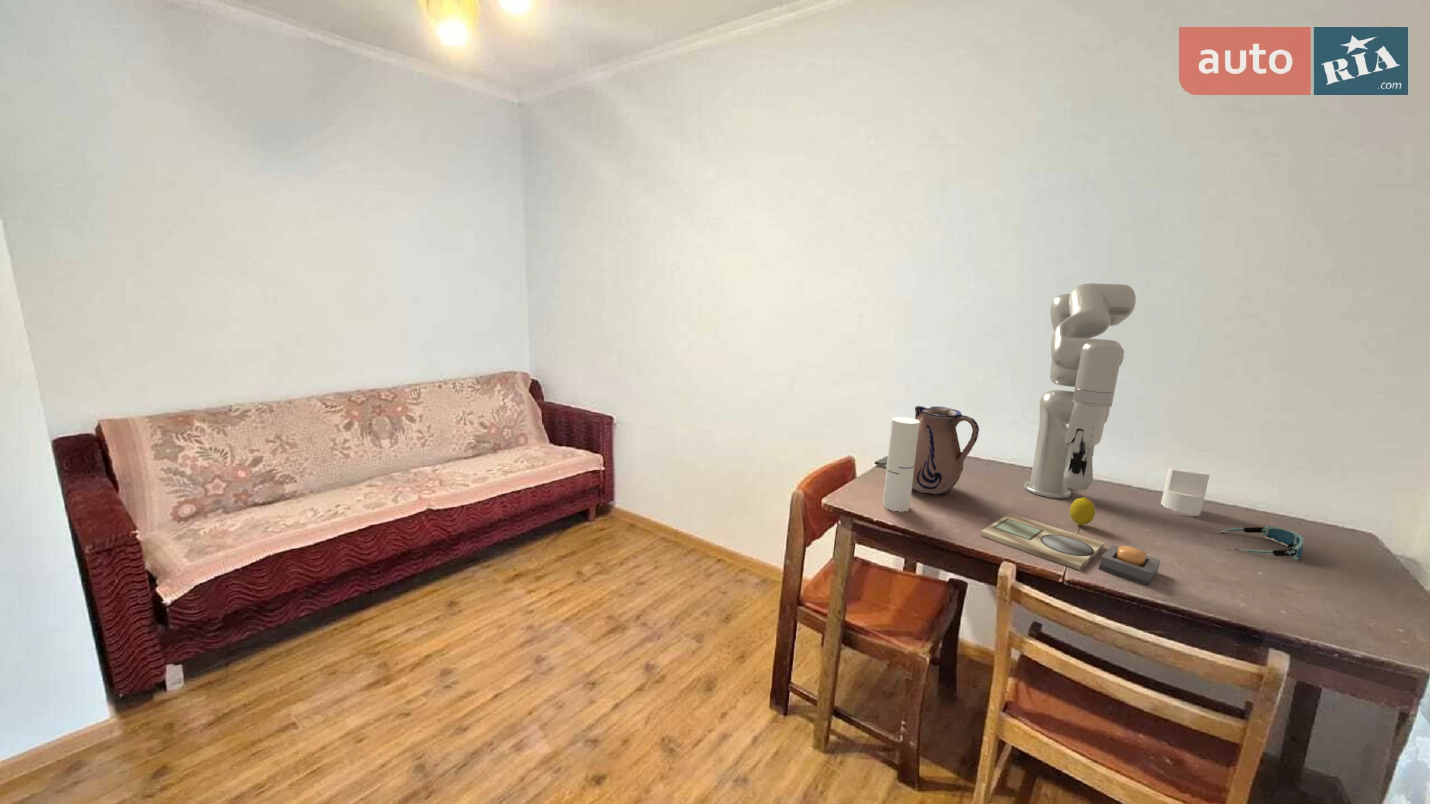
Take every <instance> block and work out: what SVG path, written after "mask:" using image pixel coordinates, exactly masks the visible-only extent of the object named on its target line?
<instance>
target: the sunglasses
mask: <svg viewBox="0 0 1430 804" xmlns="http://www.w3.org/2000/svg"><path fill="white" fill-rule="evenodd" d="M1222 530H1223V531H1231V532H1242V531H1243V532H1245V533H1246V532H1247V533H1249V534H1251V533H1256V534H1263V537H1264V536H1266V537H1269V538H1274V539H1275V540H1277V541H1279V542H1283V543H1285V544H1287V545H1288V546H1287V547H1291V549H1279V550H1278V549H1276V550H1274V549H1271V550H1258V549H1257V550H1256V549H1255V550H1254V549H1245V548H1242V549H1243V550H1246V551H1248V552H1254V553H1253V554H1263V555H1265V554H1266V555H1267V554H1269V555H1270V554H1272V555H1274V556H1275V557H1292V560H1293V559H1297V558H1300V557H1302V554H1303V548H1304V541H1305V539H1304V536H1302V535H1301V534H1300V533H1298V532H1296V531H1294V530H1291V529H1286V528H1283V527H1278V526H1271V525H1269V526H1268V525H1265V526H1264V527H1261V526H1260V527H1259V526H1258V527H1257V526H1256V527H1254V526H1253V527H1250V526H1249V527H1233V528H1227V529H1226V528H1225V529H1222ZM1287 547H1286V548H1287ZM1292 547H1294V548H1292ZM1248 552H1247V553H1248ZM1300 559H1301V558H1300Z"/></svg>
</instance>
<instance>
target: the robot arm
mask: <svg viewBox="0 0 1430 804" xmlns="http://www.w3.org/2000/svg"><path fill="white" fill-rule="evenodd" d="M1136 300H1137V297H1136V293H1135V291H1134V289H1133V288H1132V287H1131V286H1130V285H1128V284H1123V283H1122V284H1120V283H1119V284H1118V283H1094V282H1093V283H1092V282H1091V283H1084V284H1080V285H1077V286H1076V287H1075V288H1073V289H1072V291H1071V292H1070V293H1064V294H1060V295H1057V296H1055V297H1054V298H1053V299H1052V301H1051V304H1050V321H1051V325H1052V328H1053V329H1052V330H1053V333H1052V335H1051V340H1050V341H1051V342H1050V354H1051V355H1050V356H1051V364H1050V373H1049V377H1050V378H1049V379H1050V382H1052V383H1053V384H1055V385H1058V386H1061V387H1062V386H1063V387H1071V388H1074V390H1073V391H1072V390H1071V391H1070V390H1061V389H1059V390H1058V389H1057V390H1055V389H1054V390H1049V391H1046V392H1044V393H1043V394H1042V395H1041V397H1040V399H1039V423H1038V424H1039V425H1038V433H1037V440H1036V445H1035V452H1034V457H1033V464H1032V469H1031V476H1030V480H1026V481H1025V482H1024V483H1023V488H1024V489H1025V490H1026V491H1028V492H1030V493H1032V494H1035V495H1038V496H1041V497H1044V498H1045V497H1046V498H1052V499H1067V498H1070V497H1071V496H1072V492H1071V490H1070V489H1069V488H1067V486H1066V484H1065V480H1064V472H1065V470H1066V468H1067V465H1068V463H1069V460H1070V465H1069V471H1070V469H1071V468H1072V473H1074V474H1079V473H1080V471H1081V469H1082V473H1083V477H1084V474H1085V470H1086V465H1087V461H1086V457H1087V452H1088V448H1091V447H1092V458H1093V457H1094V451H1095V446H1096V445H1098V444H1100V442H1101V440H1102V436H1103V432H1104V428H1105V427H1104V426H1105V424H1106V423H1107V421H1108V419H1109V414H1110V409H1111V407H1113V402H1114V396H1115V392H1116V386H1117V380H1118V377H1119V375H1118V374H1119V370H1120V367H1121V365H1122V363H1123V361H1124V359H1125V356H1124V354H1125V350H1124V348H1123V347H1122V345H1121V343H1120V342H1118V341H1116V340H1111V339H1100V338H1098V339H1097V338H1095V337H1098V336H1100V335H1102V334H1104V333H1105V332H1106V331H1107V330H1108V329H1109V327H1113V326H1118V325H1120V324H1121V323H1123V321H1125V320H1126V319H1127V318H1129V316H1130V315H1132V313H1133V311H1134V309H1135V307H1136V304H1137V303H1136ZM1074 438H1075V440H1074ZM1081 444H1083V445H1085V446H1084V447H1082V446H1081ZM1081 450H1084V451H1083V452H1082V451H1081ZM1070 458H1071V459H1070ZM1069 471H1068V472H1069Z"/></svg>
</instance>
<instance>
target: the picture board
mask: <svg viewBox="0 0 1430 804" xmlns="http://www.w3.org/2000/svg"><path fill="white" fill-rule="evenodd" d="M979 534H980V536H981V537H983V538H987V539H990V540H992V541H996V542H998V543H1000V544H1004V545H1007V546H1009V547H1012V548H1015V549H1018V550H1020V551H1024V552H1025V553H1030V554H1032V555H1035V556H1038V557H1040V558H1042V559H1046V560H1048V561H1051V562H1054V563H1057V564H1060V565H1063V566H1066V567H1068V568H1072V569H1074V570H1076V571H1081V570H1082V569H1083V568H1084V567H1085V566H1086V565H1087V564H1088V563H1090V561H1091V560H1092V559H1094V557H1095V556H1097V554H1099V552H1101V551H1102V550H1103V549H1104V548H1103V547H1105V542H1102V541H1099V540H1097V539H1094V538H1093V539H1092V538H1089V537H1087V536H1085V535H1084V536H1083V535H1080V534H1077V533H1074V532H1071V531H1068V530H1065V529H1061V528H1059V527H1055V526H1052V525H1048V524H1046V523H1042V522H1038V521H1035V520H1033V519H1030V518H1026V517H1023V516H1020V515H1016V514H1013V513H1011V512H1010V513H1008V514H1006V515H1005V516H1003V517H1001V518H1000V519H998V520H996V521H995V522H993V523H991V524H990V525H988V526H986V527H985V528H983V529H981V530H980V533H979ZM1101 549H1102V550H1101Z"/></svg>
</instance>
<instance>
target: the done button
mask: <svg viewBox="0 0 1430 804" xmlns="http://www.w3.org/2000/svg"><path fill="white" fill-rule="evenodd" d="M1118 547H1119V548H1118V553H1117V559H1119V560H1122V561H1125V562H1128V563H1131V564H1134V565H1137V566H1140V567H1143V566H1144V563H1145V558H1146V556H1147V553H1146V552H1145V551H1144V550H1142V549H1139V548H1136V547H1134V546H1129V545H1120V546H1118Z"/></svg>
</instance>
